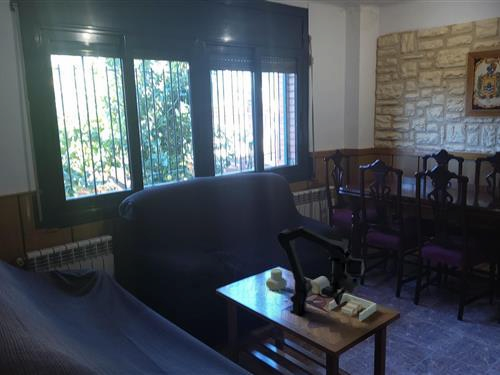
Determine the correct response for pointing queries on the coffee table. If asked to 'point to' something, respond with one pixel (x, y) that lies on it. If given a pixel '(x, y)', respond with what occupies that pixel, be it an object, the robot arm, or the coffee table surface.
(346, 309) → the tile
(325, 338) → the coffee table surface
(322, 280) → the ceramic mug
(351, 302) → the tile
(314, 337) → the coffee table surface
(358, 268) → the robot arm
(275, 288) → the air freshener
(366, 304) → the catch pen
